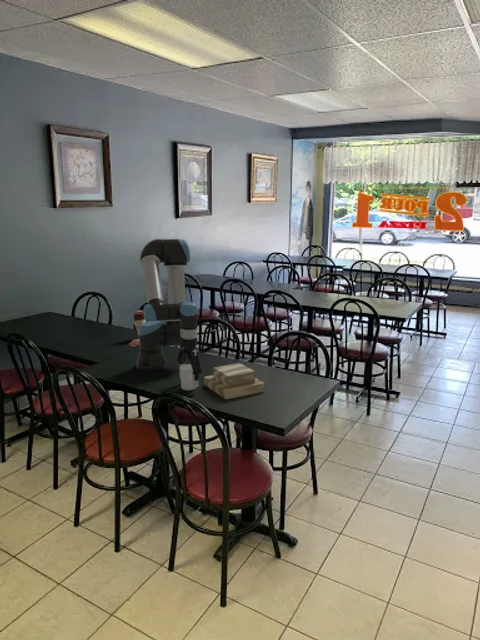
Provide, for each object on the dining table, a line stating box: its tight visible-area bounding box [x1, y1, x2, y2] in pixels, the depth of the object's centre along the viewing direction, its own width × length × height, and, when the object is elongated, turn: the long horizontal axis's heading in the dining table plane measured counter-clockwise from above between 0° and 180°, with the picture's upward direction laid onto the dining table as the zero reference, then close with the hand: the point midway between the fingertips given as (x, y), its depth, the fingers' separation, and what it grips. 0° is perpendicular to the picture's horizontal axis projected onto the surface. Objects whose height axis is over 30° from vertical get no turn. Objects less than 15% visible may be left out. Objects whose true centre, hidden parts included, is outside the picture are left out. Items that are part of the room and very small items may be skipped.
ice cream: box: [129, 309, 147, 348], centre depth 299 cm, size 16×16×18 cm
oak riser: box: [204, 362, 265, 400], centre depth 229 cm, size 20×20×9 cm
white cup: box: [179, 363, 197, 391], centre depth 228 cm, size 8×8×10 cm
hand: (188, 382), depth 228 cm, fingers open, 13 cm apart
